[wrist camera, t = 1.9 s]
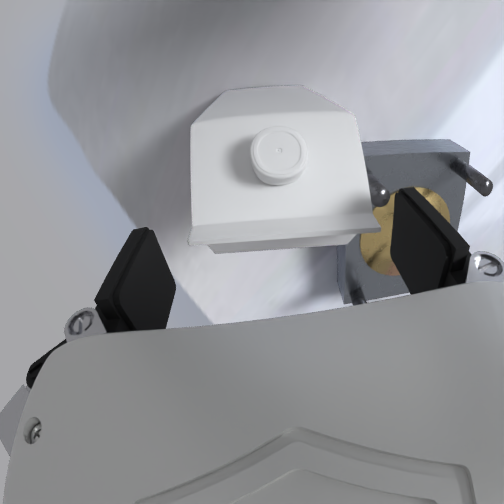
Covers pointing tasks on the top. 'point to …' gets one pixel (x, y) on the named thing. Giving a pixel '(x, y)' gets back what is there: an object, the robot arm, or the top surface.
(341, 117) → the milk carton
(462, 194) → the grey pegged base
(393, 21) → the top surface
